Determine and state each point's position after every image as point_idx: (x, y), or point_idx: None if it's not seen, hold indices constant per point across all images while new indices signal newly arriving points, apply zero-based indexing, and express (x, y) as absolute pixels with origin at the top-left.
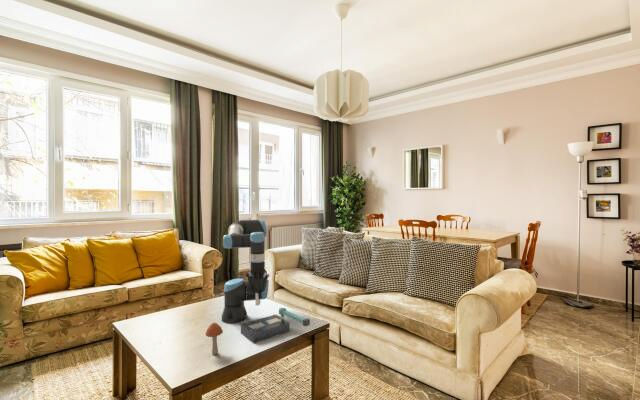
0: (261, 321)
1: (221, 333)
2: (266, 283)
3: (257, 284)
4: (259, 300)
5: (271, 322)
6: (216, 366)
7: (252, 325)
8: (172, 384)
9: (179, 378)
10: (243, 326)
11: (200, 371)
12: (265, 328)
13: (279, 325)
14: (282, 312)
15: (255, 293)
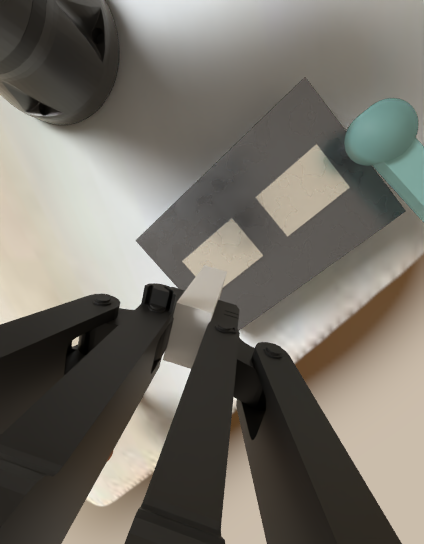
0: (232, 200)
1: (112, 451)
2: (358, 479)
3: (129, 378)
4: (218, 299)
5: (293, 218)
6: (158, 447)
7: (198, 260)
8: (94, 500)
9: (96, 483)
10: (157, 263)
11: (128, 463)
12: (271, 289)
13: (343, 252)
14: (379, 164)
15: (164, 357)
